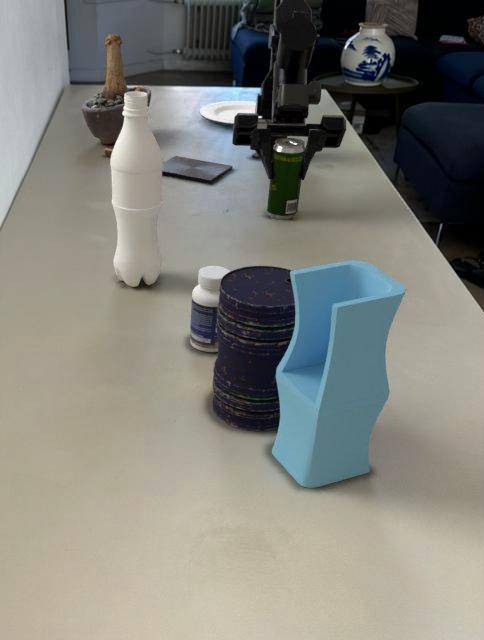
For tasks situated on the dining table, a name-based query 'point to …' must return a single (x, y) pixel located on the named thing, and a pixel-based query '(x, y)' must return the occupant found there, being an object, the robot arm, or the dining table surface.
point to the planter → (110, 97)
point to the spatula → (190, 168)
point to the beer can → (286, 178)
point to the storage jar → (252, 345)
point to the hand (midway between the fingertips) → (286, 178)
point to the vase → (334, 370)
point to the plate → (226, 111)
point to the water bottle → (137, 194)
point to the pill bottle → (206, 309)
